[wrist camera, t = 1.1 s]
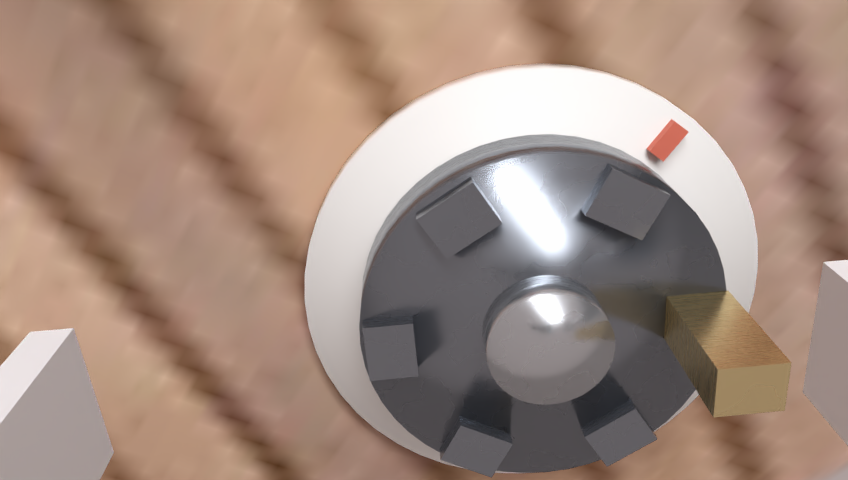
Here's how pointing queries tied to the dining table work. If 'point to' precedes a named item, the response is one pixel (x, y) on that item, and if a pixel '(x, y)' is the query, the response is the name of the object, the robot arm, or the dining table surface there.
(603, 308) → the grey round piece
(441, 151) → the housing plate
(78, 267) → the dining table surface
